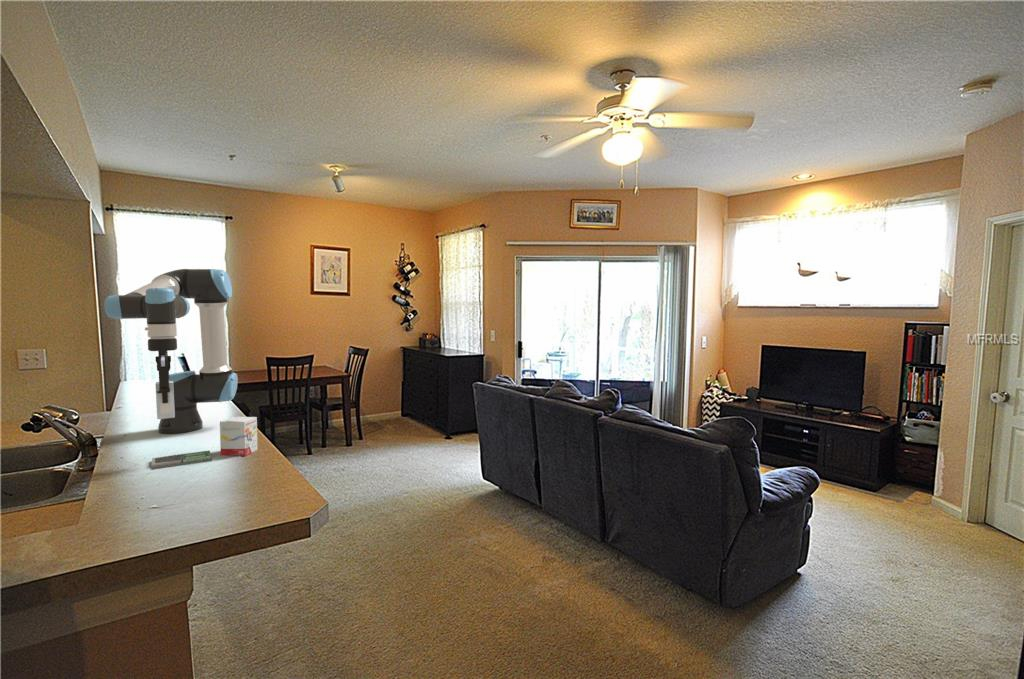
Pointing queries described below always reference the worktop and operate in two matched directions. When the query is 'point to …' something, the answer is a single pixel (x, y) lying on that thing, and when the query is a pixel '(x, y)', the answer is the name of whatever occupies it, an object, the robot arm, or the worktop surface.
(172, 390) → the plug
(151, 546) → the worktop surface
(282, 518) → the worktop surface
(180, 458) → the panel
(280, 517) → the worktop surface
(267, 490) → the worktop surface
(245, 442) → the ink box
